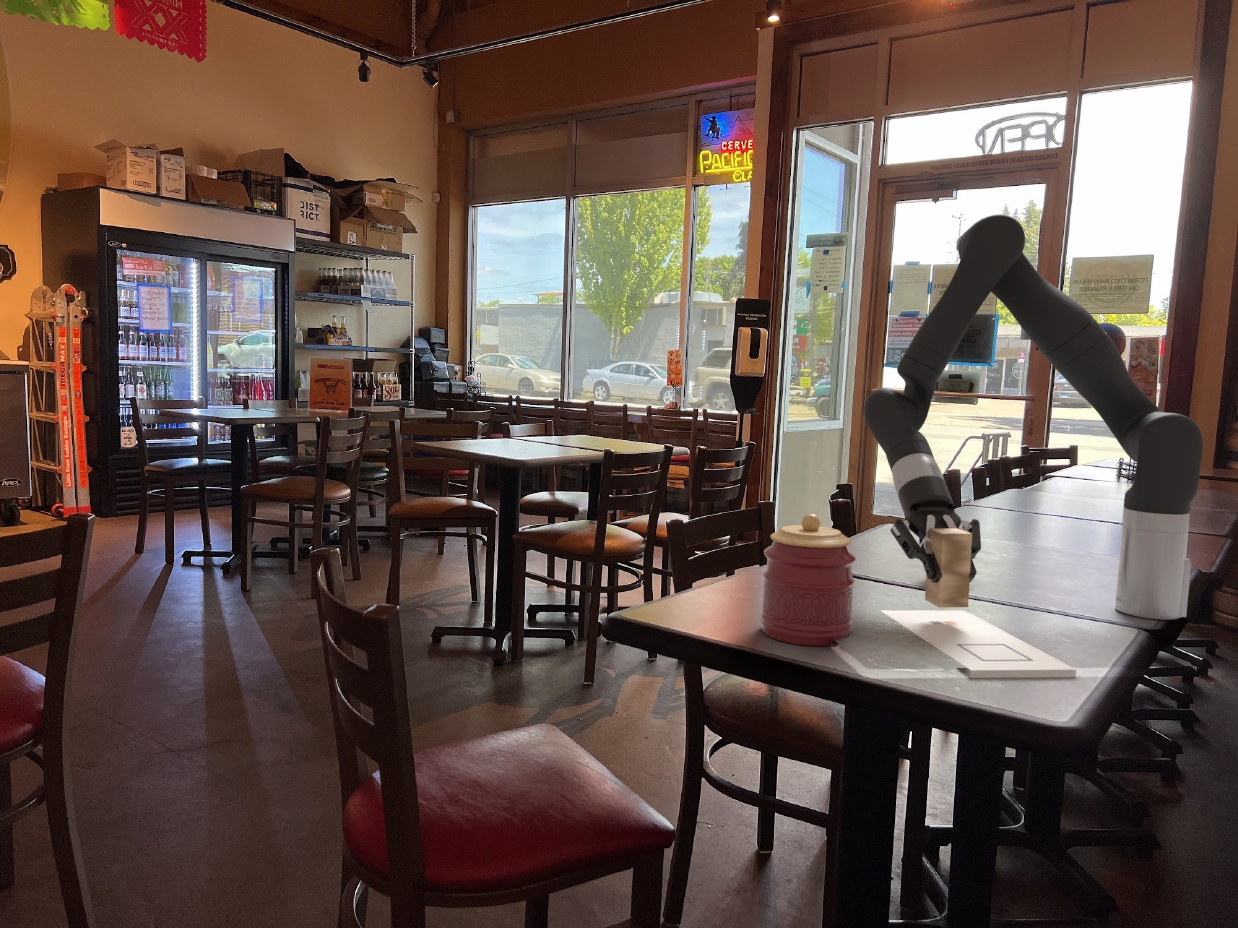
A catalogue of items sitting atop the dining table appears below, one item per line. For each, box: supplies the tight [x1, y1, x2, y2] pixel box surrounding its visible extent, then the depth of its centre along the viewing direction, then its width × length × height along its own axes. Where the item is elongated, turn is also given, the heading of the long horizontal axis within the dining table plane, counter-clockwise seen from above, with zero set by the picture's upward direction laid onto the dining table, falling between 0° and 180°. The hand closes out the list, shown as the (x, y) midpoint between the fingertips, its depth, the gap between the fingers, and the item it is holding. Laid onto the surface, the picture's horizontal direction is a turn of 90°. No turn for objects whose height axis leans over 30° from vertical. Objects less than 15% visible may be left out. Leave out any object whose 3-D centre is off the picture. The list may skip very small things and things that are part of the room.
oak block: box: [924, 528, 972, 608], centre depth 126 cm, size 4×4×11 cm
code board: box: [879, 609, 1077, 679], centre depth 120 cm, size 14×28×1 cm, turn 6°
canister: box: [760, 513, 857, 647], centre depth 122 cm, size 13×13×18 cm
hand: (954, 579), depth 125 cm, fingers closed on oak block, 4 cm apart
